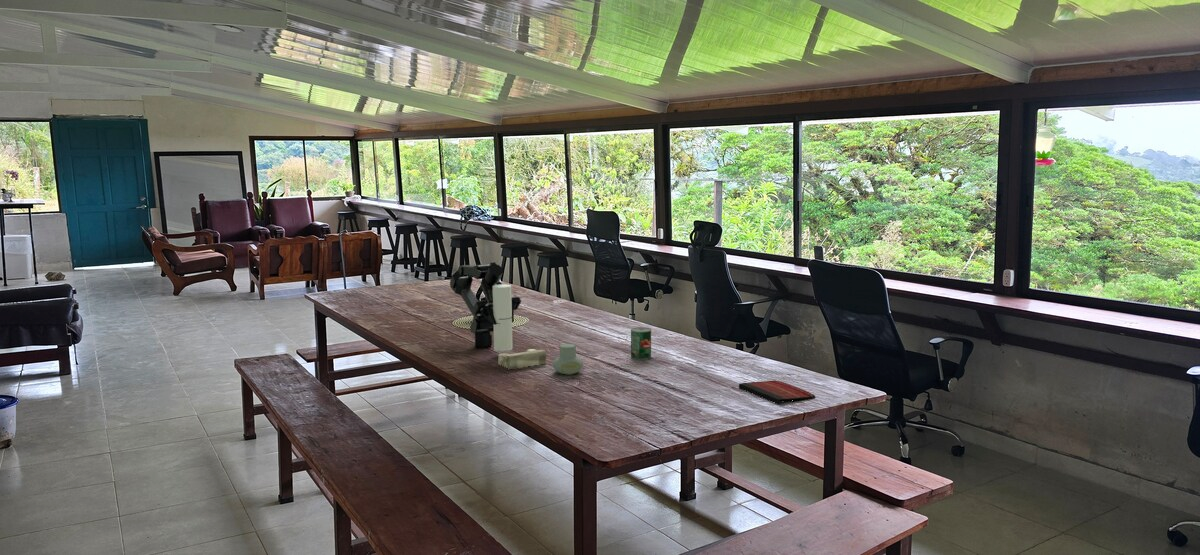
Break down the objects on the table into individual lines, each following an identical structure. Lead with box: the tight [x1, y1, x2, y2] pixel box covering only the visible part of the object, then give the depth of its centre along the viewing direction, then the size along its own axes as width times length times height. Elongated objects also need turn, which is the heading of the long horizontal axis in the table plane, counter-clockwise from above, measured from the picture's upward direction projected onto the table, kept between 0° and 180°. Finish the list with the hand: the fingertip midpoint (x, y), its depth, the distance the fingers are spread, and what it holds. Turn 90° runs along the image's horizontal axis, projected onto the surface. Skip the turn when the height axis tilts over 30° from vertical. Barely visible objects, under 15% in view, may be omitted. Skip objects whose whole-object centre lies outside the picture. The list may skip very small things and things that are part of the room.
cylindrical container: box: [492, 283, 513, 352], centre depth 319 cm, size 7×7×25 cm
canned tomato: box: [630, 326, 652, 360], centre depth 316 cm, size 8×8×11 cm
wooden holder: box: [497, 348, 547, 370], centre depth 308 cm, size 10×15×5 cm, turn 123°
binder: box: [738, 380, 816, 405], centre depth 269 cm, size 16×2×21 cm
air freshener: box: [552, 343, 584, 376], centre depth 295 cm, size 11×8×10 cm
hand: (504, 323), depth 318 cm, fingers closed on cylindrical container, 7 cm apart
